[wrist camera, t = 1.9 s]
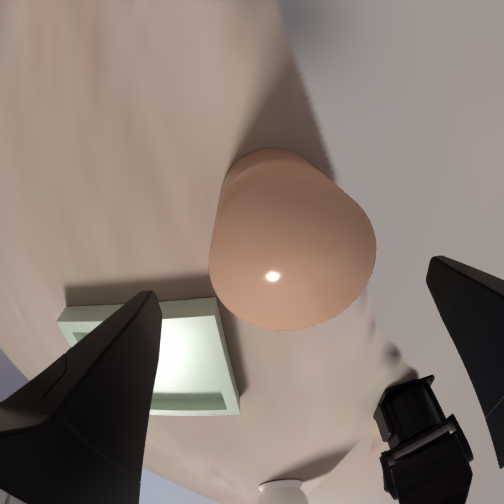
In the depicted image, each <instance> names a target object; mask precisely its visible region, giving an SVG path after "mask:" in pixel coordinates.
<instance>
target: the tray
mask: <svg viewBox="0 0 504 504" xmlns="http://www.w3.org/2000/svg"><path fill="white" fill-rule="evenodd" d="M123 305H124V304H116V305H96V306H71V307H65V309H64V310H63V312H62V314H61V315H60V317H59V318H58V320H57V321H56V322H57V324H58V325H59V327H60V329H61V331H62V332H63V334H64V336H65V337H66V339H67V341H68V342H69V344H70V346H71V347H73V346H74V345H75V344H76V343H77V342H79V341H80V340H81V339H82V338H83V337H85V336H86V335H87V334H88V333H90V332H91V331H92V330H93V329H94V328H96V327H97V326H98V325H99V324H101V323H102V322H103V321H104V320H105V319H107V318H108V317H109V316H110V315H112V314H113V313H114V312H115V311H117V310H118V309H119V308H120V307H122V306H123ZM159 305H160V308H161V311H162V316H163V319H162V330H161V341H160V354H159V362H158V368H157V373H156V378H155V384H154V390H153V395H152V401H151V407H150V413H149V415H172V416H213V415H236V414H240V396H239V392H238V388H237V385H236V381H235V377H234V373H233V368H232V364H231V360H230V356H229V352H228V348H227V343H226V339H225V335H224V330H223V326H222V322H221V317H220V312H219V308H218V303H217V299H216V297H212V298H201V299H189V300H177V301H164V302H159Z"/></svg>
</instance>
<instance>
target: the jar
mask: <svg viewBox="0 0 504 504" xmlns="http://www.w3.org/2000/svg"><path fill="white" fill-rule="evenodd" d="M301 486H302V481H300V480H294V479H289V480H277V481H272V482H267V483H264V484H262V485H260V486H259V490H260V491H261V492H262V494H261V495H260V498H259V500H258V504H309V503H308V500H307V497H306V495H305V494H304V492H303V491H302V490H301V489H300V487H301Z"/></svg>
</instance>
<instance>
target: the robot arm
mask: <svg viewBox="0 0 504 504" xmlns="http://www.w3.org/2000/svg"><path fill="white" fill-rule="evenodd" d="M426 283H427V286H428V288H429V290H430V292H431V295H432V297H433V299H434V302H435V304H436V306H437V309H438V311H439V313H440V316H441V318H442V320H443V322H444V324H445V326H446V328H447V330H448V332H449V334H450V336H451V338H452V340H453V342H454V344H455V346H456V348H457V350H458V353H459V355H460V357H461V359H462V361H463V363H464V366H465V368H466V370H467V372H468V375H469V377H470V380H471V382H472V384H473V387H474V389H475V392H476V394H477V397H478V400H479V402H480V405H481V408H482V410H483V413H484V416H485V418H486V419H485V420H486V422H487V426H488V429H489V432H490V435H491V438H492V442H493V445H494V449H495V452H496V456H497V460H498V464H499V467H500V469H501V468H503V467H504V280H502V279H500V278H497V277H495V276H493V275H490V274H488V273H485V272H483V271H480V270H478V269H476V268H473V267H470V266H468V265H465V264H463V263H460V262H458V261H455V260H453V259H450V258H447V257H445V256H435V257H432V258H431V260H430V264H429V268H428V272H427V276H426ZM162 319H163V316H162V311H161V308H160V305H159V302H158V299H157V296H156V294H155V292H154V291H153V290H149V291H141V292H139V293H138V294H137V295H136V296H134V297H133V298H132V299H130V300H129V301H128V302H127V303H125V304H124V305H123V306H122V307H120V308H119V309H118V310H117V311H115V312H114V313H113V314H112V315H110V316H109V317H108V318H107V319H105V320H104V321H103V322H102V323H101V324H99V325H98V326H97V327H96V328H94V329H93V330H92V331H91V332H90V333H88V334H87V335H86V336H85V337H83V338H82V339H81V340H80V341H79V342H77V343H76V344H75V345H74V346H73V347H71V348H70V349H69V350H68V351H67V352H66V354H63V355H62V356H61V357H60V358H58V359H57V360H56V361H55V362H54V363H52V364H51V365H50V366H49V367H48V368H46V369H45V370H44V371H43V372H41V373H40V374H39V375H37V376H36V377H35V378H33V379H32V380H31V381H29V382H28V383H27V384H26V385H24V386H23V387H22V388H20V389H19V390H17V391H16V392H15V393H13V394H12V395H11V396H9V397H8V398H7V399H5V400H4V401H2V402H0V504H139V495H140V481H141V473H142V464H143V456H144V448H145V441H146V433H147V427H148V420H149V413H150V407H151V401H152V395H153V390H154V384H155V378H156V373H157V368H158V362H159V354H160V341H161V330H162ZM434 378H435V377H434V376H433V375H430V376H427V377H424V378H421V379H418V380H415V381H412V382H409V383H406V384H402V385H399V386H396V387H392V388H389V389H387V390H386V391H385V392H384V394H383V396H382V398H381V400H380V403H379V405H378V407H377V409H376V411H375V413H374V415H373V417H374V419H376V422H377V425H378V428H379V431H380V434H381V437H382V440H383V441H384V442H388V444H389V447H390V450H388V451H384V452H382V453H381V455H382V456H381V457H380V462H381V465H382V469H383V479H384V490H385V491H386V492H388V493H390V494H391V496H392V497H393V499H394V500H397V499H398V500H399V504H465V503H466V499H467V496H468V492H469V488H470V484H471V480H472V475H473V473H472V470H471V467H470V465H469V462H471V461H472V460H473V454H472V451H471V448H470V446H469V443H468V441H467V439H466V437H465V435H464V433H463V431H462V429H461V428H460V426H459V424H458V422H457V420H456V418H455V416H454V414H452V415H450V416H449V417H448V418H447V419H446V417H445V415H444V413H443V411H442V409H441V407H440V405H439V403H438V400H437V398H436V396H435V395H434V393H433V391H432V389H431V387H430V386H431V384H432V382H433V381H434ZM451 430H452V431H453V433H451V434H450V431H451Z"/></svg>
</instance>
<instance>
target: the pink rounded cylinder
mask: <svg viewBox="0 0 504 504" xmlns="http://www.w3.org/2000/svg"><path fill="white" fill-rule="evenodd" d="M375 259H376V239H375V235H374V231H373V227H372V225H371V223H370V220H369V219H368V217H367V215H366V213H365V212H364V211H363V209H362V208H361V207H360V206H359V205H358V204H357V203H356V202H355V201H354V200H353V199H352V198H351V197H350V196H349V195H347V194H346V193H345V192H344V191H343V190H342V189H340V188H339V187H338V186H337V185H336V184H335V183H333V182H332V181H331V180H330V179H329V178H328V177H326V176H325V175H324V174H323V173H321V172H320V171H319V170H318V169H317V168H315V167H314V166H313V165H312V164H310V163H309V162H308V161H307V160H305V159H304V158H303V157H301V156H300V155H298V154H296V153H294V152H291V151H289V150H285V149H279V148H267V149H261V150H257V151H254V152H252V153H249V154H247V155H246V156H244V157H242V158H241V159H240V160H239V161H237V162H236V163H235V164H234V165H233V166H232V167H231V169H230V170H229V172H228V173H227V175H226V177H225V179H224V181H223V184H222V188H221V193H220V198H219V203H218V208H217V214H216V219H215V225H214V230H213V236H212V241H211V247H210V253H209V274H210V279H211V282H212V286H213V288H214V290H215V292H216V294H217V296H218V297H219V299H220V300H221V302H222V303H223V304H224V305H225V306H226V308H227V309H228V310H230V311H231V312H232V313H233V314H234V315H236V316H237V317H239V318H240V319H242V320H244V321H246V322H248V323H250V324H252V325H255V326H258V327H261V328H265V329H270V330H282V331H289V330H299V329H304V328H309V327H312V326H315V325H318V324H321V323H323V322H325V321H327V320H329V319H331V318H333V317H335V316H336V315H338V314H339V313H341V312H342V311H344V310H345V309H346V308H347V307H349V306H350V305H351V304H352V303H353V302H354V301H355V300H356V299H357V297H358V296H359V295H360V294H361V292H362V291H363V289H364V288H365V286H366V285H367V283H368V281H369V278H370V276H371V274H372V271H373V268H374V263H375Z"/></svg>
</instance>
